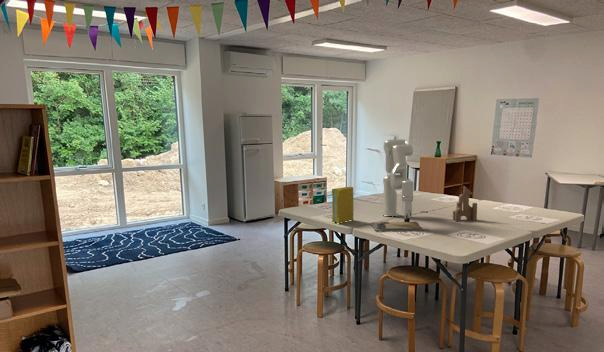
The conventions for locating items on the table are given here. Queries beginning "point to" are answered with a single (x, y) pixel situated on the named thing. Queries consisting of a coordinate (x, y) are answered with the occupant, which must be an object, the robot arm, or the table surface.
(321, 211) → the table surface
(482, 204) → the table surface
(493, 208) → the table surface
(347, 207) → the book
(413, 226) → the tongs fixed
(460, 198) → the wooden toy
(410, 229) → the mat
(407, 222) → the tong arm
